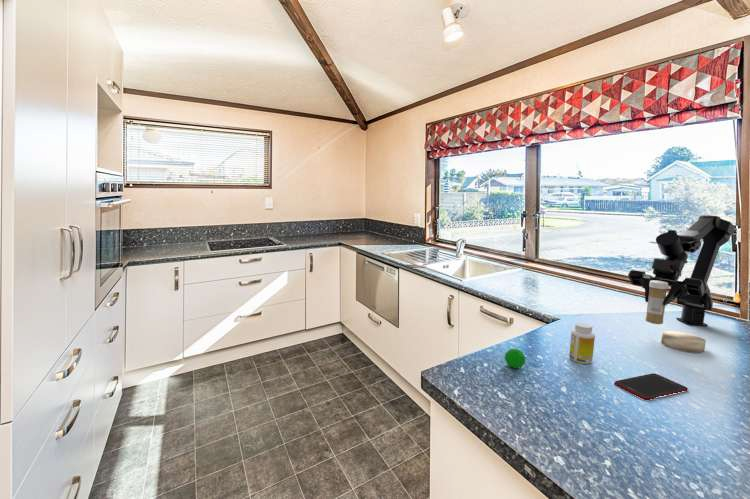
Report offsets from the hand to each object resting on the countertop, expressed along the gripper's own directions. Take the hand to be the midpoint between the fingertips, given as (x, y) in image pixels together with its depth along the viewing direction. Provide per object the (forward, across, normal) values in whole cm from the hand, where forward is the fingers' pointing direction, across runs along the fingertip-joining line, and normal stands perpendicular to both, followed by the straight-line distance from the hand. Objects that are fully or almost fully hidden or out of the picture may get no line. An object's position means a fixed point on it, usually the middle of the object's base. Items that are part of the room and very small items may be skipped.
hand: (654, 303), depth 110 cm
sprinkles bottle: (+4, 0, +6) cm, 7 cm away
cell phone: (+34, +12, -16) cm, 39 cm away
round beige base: (+7, +7, +10) cm, 14 cm away
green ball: (+46, -12, -30) cm, 57 cm away
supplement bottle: (+33, -5, -16) cm, 37 cm away
